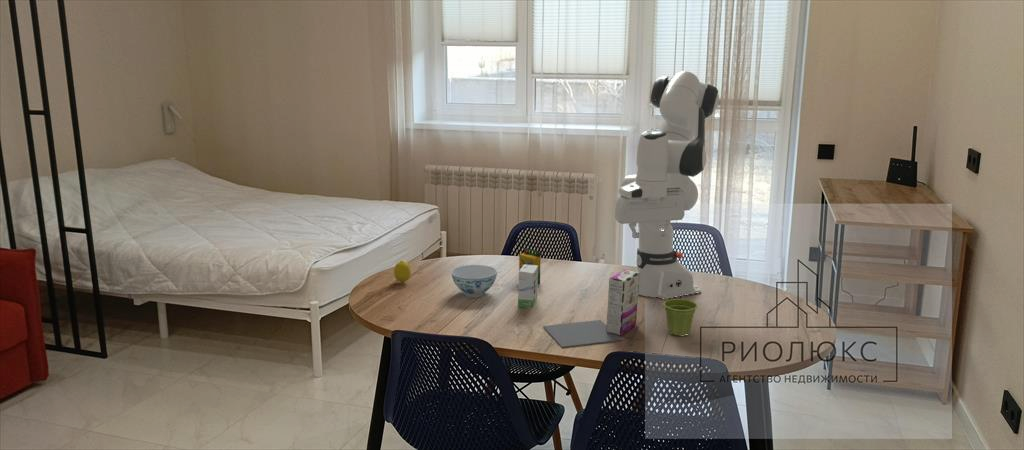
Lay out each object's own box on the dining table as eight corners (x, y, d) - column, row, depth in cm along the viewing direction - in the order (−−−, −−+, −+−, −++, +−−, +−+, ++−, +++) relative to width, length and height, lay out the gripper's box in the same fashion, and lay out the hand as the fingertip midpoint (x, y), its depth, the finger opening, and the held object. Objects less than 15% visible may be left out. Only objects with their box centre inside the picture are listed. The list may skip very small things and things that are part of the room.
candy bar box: (620, 321, 231) (625, 268, 227) (636, 325, 228) (640, 271, 225) (604, 332, 221) (608, 277, 218) (620, 336, 219) (625, 280, 215)
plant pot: (674, 341, 217) (676, 311, 214) (655, 329, 225) (657, 301, 223) (702, 336, 220) (704, 307, 218) (682, 325, 229) (684, 297, 227)
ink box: (522, 298, 251) (522, 263, 248) (538, 299, 250) (538, 264, 247) (517, 307, 243) (517, 271, 240) (533, 308, 242) (533, 272, 239)
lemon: (414, 282, 268) (413, 259, 266) (403, 286, 263) (402, 263, 261) (401, 279, 270) (400, 257, 269) (391, 283, 266) (390, 261, 264)
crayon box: (518, 281, 268) (518, 249, 266) (524, 279, 271) (524, 247, 268) (535, 285, 264) (535, 253, 261) (540, 283, 266) (541, 251, 263)
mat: (600, 321, 232) (600, 319, 231) (622, 340, 217) (622, 339, 217) (543, 327, 227) (543, 326, 226) (562, 347, 212) (562, 346, 212)
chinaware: (470, 304, 246) (470, 281, 244) (442, 293, 256) (442, 270, 255) (506, 294, 255) (506, 272, 253) (477, 283, 266) (477, 262, 264)
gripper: (679, 185, 223) (676, 231, 226) (613, 188, 218) (611, 236, 221) (690, 189, 217) (687, 236, 221) (622, 192, 212) (620, 241, 215)
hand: (649, 236), depth 221 cm, fingers open, 7 cm apart
